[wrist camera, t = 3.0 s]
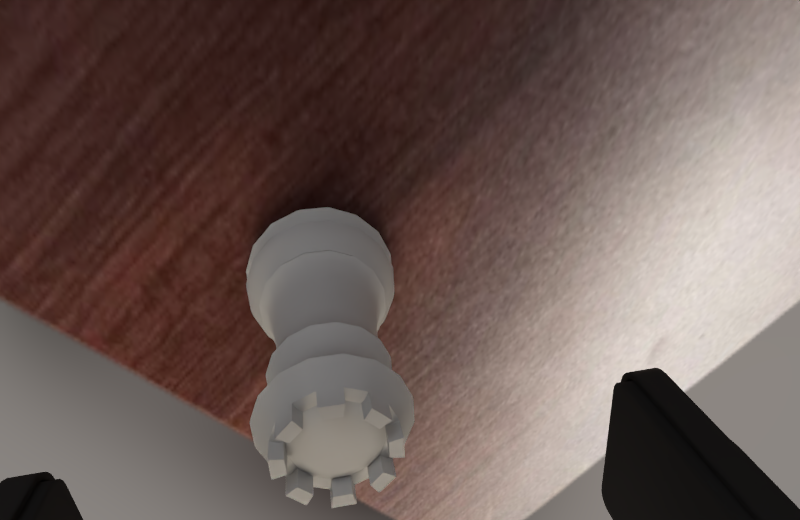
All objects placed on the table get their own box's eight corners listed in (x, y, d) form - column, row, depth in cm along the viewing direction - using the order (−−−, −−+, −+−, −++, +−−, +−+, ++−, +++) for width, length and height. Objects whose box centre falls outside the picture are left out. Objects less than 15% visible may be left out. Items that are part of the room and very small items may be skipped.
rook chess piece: (312, 352, 18) (322, 574, 11) (215, 262, 16) (153, 461, 9) (417, 274, 18) (498, 456, 11) (330, 171, 16) (358, 309, 9)
